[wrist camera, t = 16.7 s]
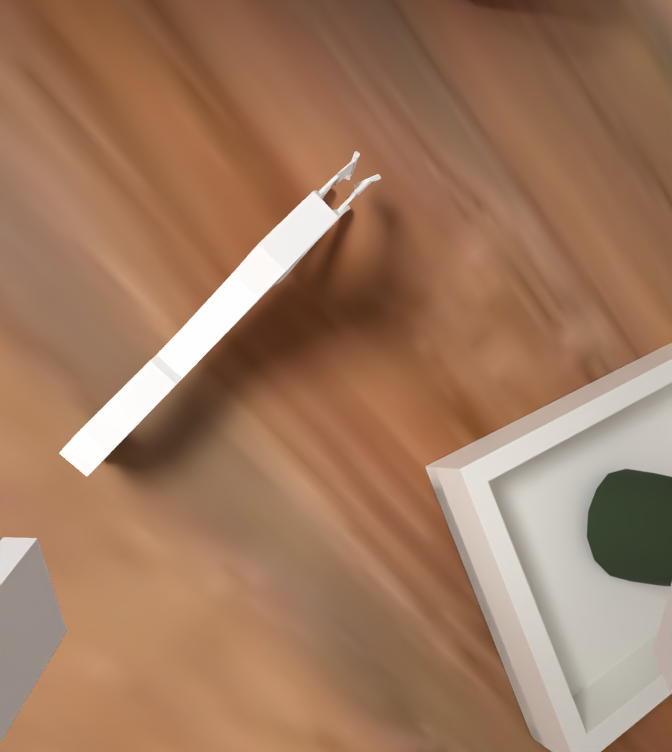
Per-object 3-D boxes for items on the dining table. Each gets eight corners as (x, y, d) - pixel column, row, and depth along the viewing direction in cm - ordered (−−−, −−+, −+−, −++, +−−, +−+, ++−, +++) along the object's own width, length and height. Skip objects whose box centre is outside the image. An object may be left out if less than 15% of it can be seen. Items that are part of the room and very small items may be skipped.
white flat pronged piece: (265, 254, 37) (46, 462, 25) (375, 128, 28) (122, 354, 17) (286, 275, 37) (80, 490, 26) (401, 157, 29) (172, 398, 17)
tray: (424, 466, 32) (459, 468, 29) (671, 342, 39) (721, 333, 36) (531, 737, 32) (578, 770, 29) (755, 566, 40) (813, 577, 36)
